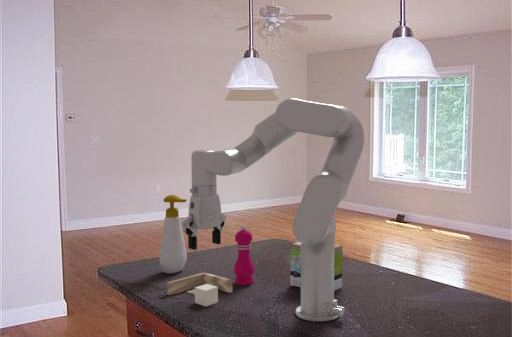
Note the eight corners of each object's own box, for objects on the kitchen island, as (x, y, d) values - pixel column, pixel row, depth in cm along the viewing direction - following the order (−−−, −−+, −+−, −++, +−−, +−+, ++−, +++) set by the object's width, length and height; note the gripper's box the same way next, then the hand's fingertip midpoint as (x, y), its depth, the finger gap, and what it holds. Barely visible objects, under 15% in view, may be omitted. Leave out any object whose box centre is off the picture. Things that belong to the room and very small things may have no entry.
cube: (218, 302, 167) (217, 286, 166) (205, 306, 163) (205, 290, 163) (207, 299, 170) (206, 283, 170) (195, 303, 167) (194, 287, 166)
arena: (232, 291, 177) (232, 279, 177) (195, 303, 166) (195, 291, 165) (204, 283, 187) (203, 272, 186) (167, 294, 175) (166, 282, 175)
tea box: (289, 286, 183) (289, 243, 182) (307, 279, 190) (307, 238, 189) (325, 295, 173) (325, 249, 171) (343, 288, 180) (343, 244, 179)
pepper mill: (252, 286, 183) (251, 227, 182) (231, 285, 185) (230, 227, 183) (256, 280, 190) (255, 224, 189) (236, 279, 192) (235, 223, 190)
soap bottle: (177, 278, 194) (175, 197, 192) (154, 274, 199) (151, 196, 196) (196, 269, 205) (195, 193, 203) (174, 266, 210) (172, 192, 208)
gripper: (190, 194, 155) (191, 253, 156) (233, 189, 168) (233, 243, 169) (173, 192, 160) (174, 249, 162) (216, 187, 173) (217, 239, 174)
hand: (204, 246), depth 165 cm, fingers open, 9 cm apart
